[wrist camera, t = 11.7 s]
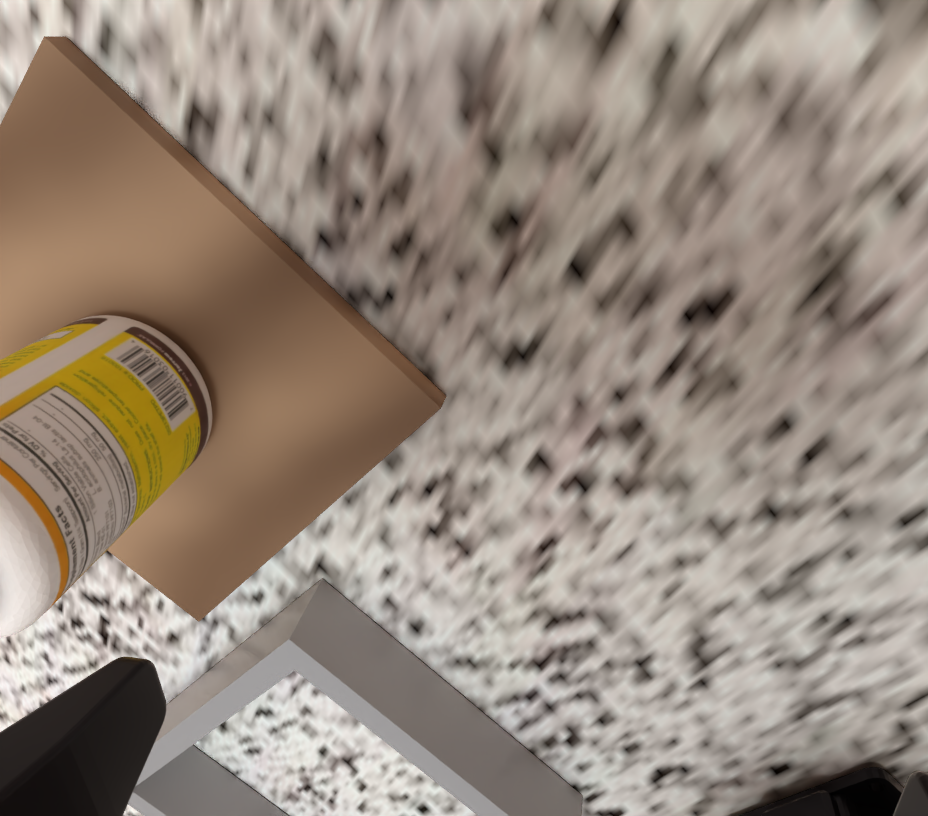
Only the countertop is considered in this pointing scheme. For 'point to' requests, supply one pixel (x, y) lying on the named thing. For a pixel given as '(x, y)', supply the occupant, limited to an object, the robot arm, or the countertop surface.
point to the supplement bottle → (87, 450)
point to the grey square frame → (364, 697)
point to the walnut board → (194, 324)
